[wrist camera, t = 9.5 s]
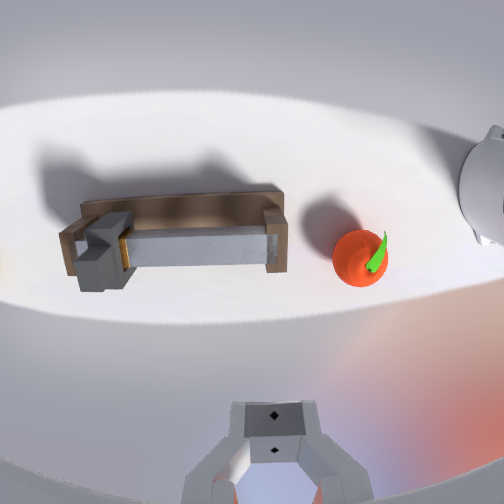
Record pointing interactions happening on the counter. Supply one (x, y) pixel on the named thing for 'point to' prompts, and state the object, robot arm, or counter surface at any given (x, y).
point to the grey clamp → (104, 254)
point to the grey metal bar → (192, 246)
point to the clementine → (360, 258)
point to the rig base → (189, 217)
